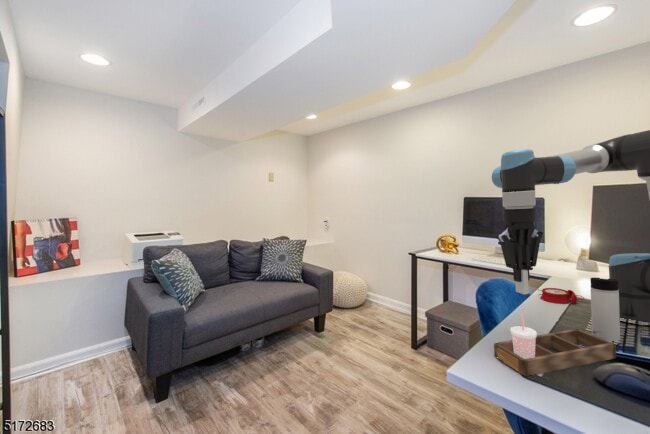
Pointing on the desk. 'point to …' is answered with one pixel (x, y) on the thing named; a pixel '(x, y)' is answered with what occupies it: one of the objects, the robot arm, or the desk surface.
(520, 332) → the beverage cup
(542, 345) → the walnut rack
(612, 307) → the travel mug
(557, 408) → the desk surface
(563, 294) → the alarm clock
